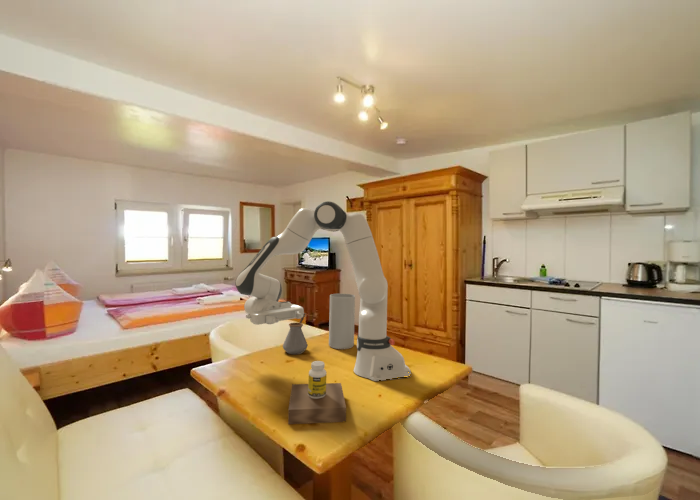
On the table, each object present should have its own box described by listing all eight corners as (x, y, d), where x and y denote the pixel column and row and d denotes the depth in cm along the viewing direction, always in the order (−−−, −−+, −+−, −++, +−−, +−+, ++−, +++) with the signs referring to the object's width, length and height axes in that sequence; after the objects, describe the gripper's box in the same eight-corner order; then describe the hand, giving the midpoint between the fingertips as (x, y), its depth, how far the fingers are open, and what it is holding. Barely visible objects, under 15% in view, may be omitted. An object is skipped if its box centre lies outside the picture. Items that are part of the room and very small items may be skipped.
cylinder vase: (357, 343, 161) (358, 294, 161) (348, 351, 149) (349, 298, 149) (334, 340, 165) (335, 293, 165) (324, 347, 154) (325, 296, 153)
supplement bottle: (310, 400, 93) (311, 367, 92) (306, 392, 98) (306, 361, 97) (328, 397, 95) (329, 365, 95) (322, 389, 100) (323, 358, 100)
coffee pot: (303, 356, 140) (304, 323, 140) (278, 354, 142) (279, 321, 142) (315, 342, 162) (316, 313, 161) (293, 341, 163) (294, 312, 163)
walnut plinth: (340, 395, 105) (341, 383, 105) (345, 421, 89) (346, 407, 89) (291, 396, 103) (292, 384, 103) (288, 424, 87) (288, 409, 87)
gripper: (243, 307, 115) (261, 313, 105) (292, 301, 129) (311, 306, 119) (243, 324, 115) (261, 332, 105) (292, 316, 129) (311, 322, 119)
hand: (288, 318), depth 112 cm, fingers open, 8 cm apart
